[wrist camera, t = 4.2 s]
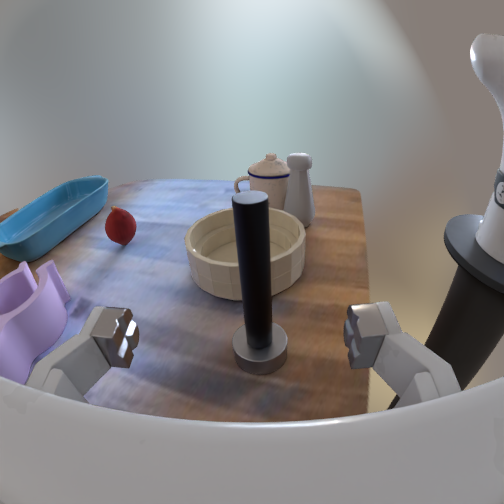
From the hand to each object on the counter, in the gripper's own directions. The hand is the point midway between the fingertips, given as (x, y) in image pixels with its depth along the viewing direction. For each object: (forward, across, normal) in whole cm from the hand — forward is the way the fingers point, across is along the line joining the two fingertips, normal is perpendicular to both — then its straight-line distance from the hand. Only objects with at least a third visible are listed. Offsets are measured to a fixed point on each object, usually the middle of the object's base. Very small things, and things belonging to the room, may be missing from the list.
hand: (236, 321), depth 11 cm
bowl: (+28, +2, +18) cm, 33 cm away
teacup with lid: (+47, -1, +18) cm, 51 cm away
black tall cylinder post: (+12, 0, +18) cm, 22 cm away
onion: (+36, +25, +18) cm, 48 cm away
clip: (+11, +33, +18) cm, 39 cm away
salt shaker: (+41, -7, +18) cm, 46 cm away
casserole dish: (+45, +50, +18) cm, 70 cm away
